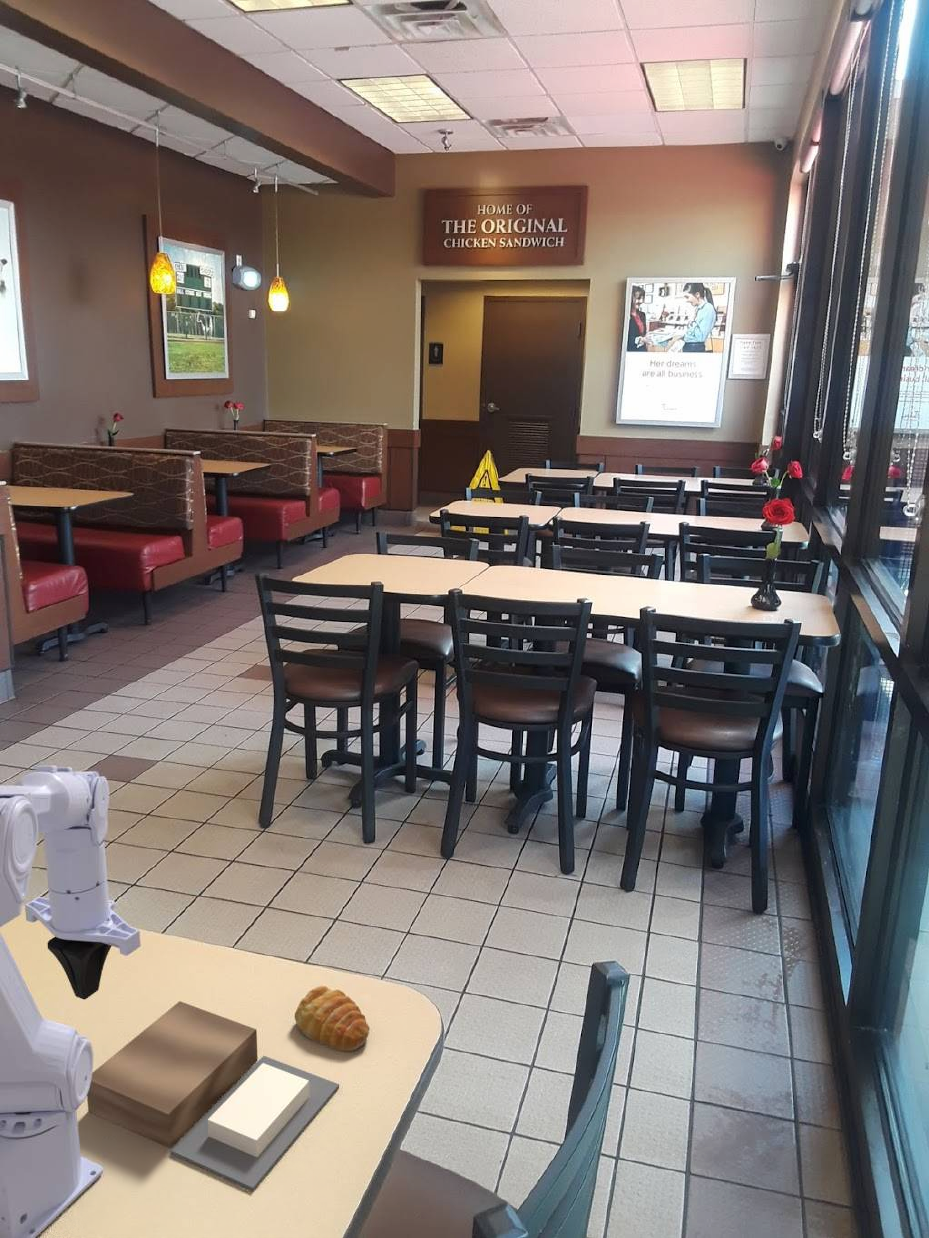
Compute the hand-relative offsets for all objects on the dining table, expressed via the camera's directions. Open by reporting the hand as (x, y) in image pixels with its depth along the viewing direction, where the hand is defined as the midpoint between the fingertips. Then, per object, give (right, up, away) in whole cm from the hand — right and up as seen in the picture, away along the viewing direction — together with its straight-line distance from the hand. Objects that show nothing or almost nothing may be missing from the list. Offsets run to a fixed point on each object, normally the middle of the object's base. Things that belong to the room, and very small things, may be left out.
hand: (87, 992), depth 100 cm
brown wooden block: (+10, -10, 0) cm, 14 cm away
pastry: (+25, -8, +10) cm, 28 cm away
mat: (+20, -11, -4) cm, 23 cm away
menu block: (+20, -9, -5) cm, 22 cm away
